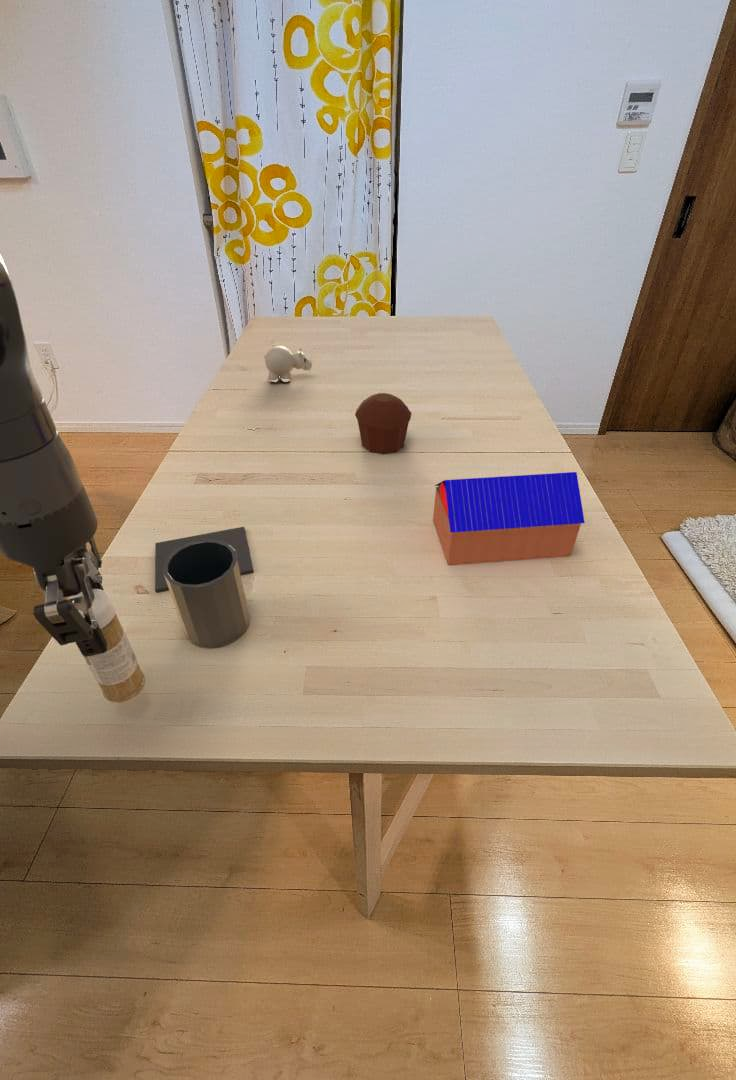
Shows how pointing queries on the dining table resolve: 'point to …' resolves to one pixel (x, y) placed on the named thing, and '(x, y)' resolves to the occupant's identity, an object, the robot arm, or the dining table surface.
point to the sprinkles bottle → (113, 654)
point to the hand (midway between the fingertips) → (98, 631)
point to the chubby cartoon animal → (285, 362)
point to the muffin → (383, 423)
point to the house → (508, 517)
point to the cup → (208, 592)
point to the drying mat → (230, 536)
